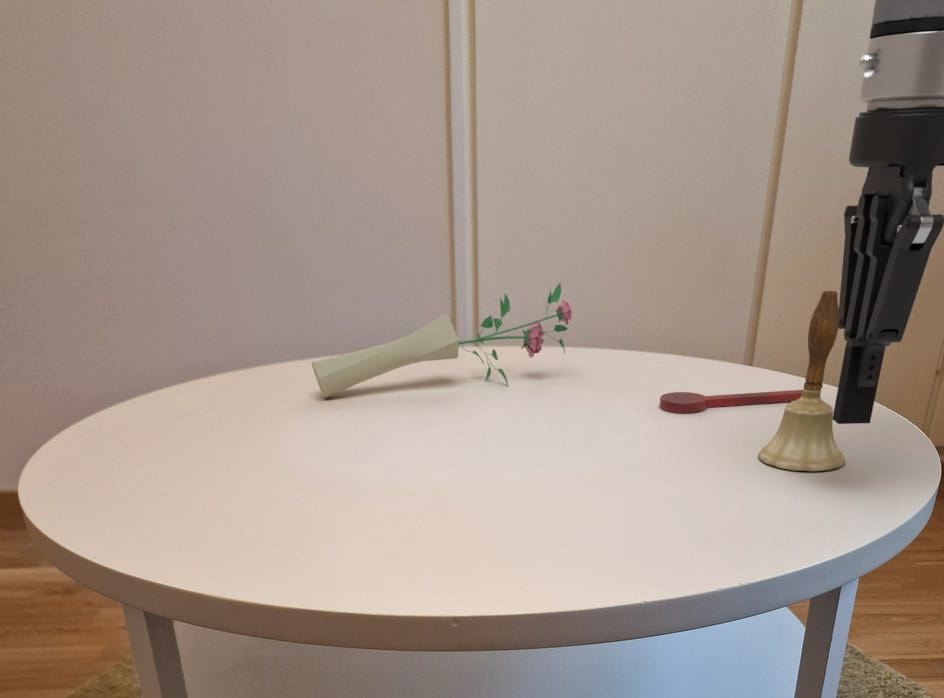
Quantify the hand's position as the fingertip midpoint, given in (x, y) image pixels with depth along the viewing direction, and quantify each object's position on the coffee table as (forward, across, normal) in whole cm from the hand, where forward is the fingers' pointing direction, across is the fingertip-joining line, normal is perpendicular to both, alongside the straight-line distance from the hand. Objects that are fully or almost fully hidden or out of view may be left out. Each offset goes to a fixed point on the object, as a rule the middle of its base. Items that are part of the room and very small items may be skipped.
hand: (851, 420), depth 77 cm
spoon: (+7, -32, -1) cm, 33 cm away
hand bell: (+7, -10, 0) cm, 12 cm away
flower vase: (+7, -45, -37) cm, 59 cm away
